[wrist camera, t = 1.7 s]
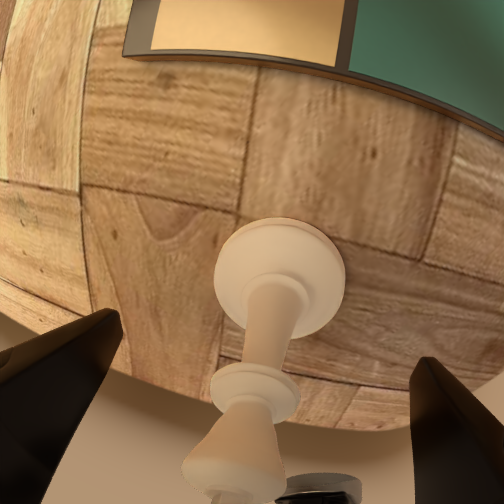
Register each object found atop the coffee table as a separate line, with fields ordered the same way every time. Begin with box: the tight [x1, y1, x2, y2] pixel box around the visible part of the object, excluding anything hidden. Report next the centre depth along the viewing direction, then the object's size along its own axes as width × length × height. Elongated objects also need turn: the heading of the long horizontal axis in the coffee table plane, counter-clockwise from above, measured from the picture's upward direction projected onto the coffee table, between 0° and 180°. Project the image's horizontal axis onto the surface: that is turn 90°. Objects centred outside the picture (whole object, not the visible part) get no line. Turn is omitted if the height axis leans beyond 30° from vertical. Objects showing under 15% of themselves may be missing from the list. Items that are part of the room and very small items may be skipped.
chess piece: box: [181, 217, 345, 504], centre depth 7 cm, size 5×5×10 cm
